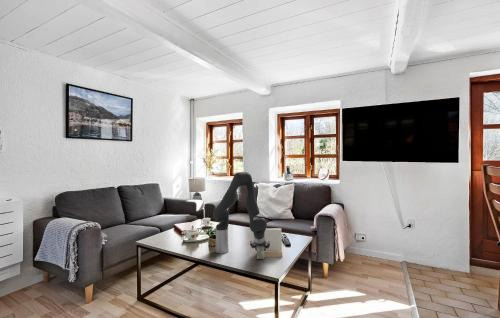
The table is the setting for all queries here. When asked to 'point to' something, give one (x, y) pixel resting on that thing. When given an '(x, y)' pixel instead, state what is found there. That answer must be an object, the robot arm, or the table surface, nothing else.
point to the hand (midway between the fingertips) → (260, 249)
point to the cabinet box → (260, 252)
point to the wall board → (273, 243)
